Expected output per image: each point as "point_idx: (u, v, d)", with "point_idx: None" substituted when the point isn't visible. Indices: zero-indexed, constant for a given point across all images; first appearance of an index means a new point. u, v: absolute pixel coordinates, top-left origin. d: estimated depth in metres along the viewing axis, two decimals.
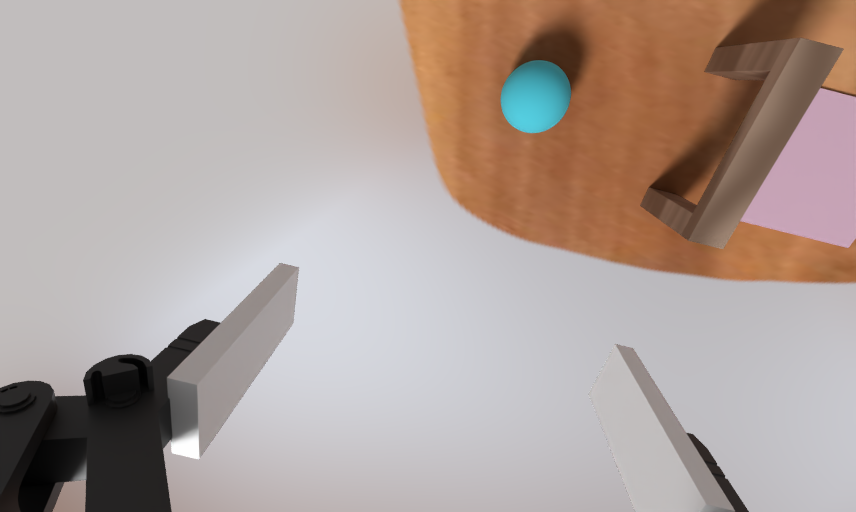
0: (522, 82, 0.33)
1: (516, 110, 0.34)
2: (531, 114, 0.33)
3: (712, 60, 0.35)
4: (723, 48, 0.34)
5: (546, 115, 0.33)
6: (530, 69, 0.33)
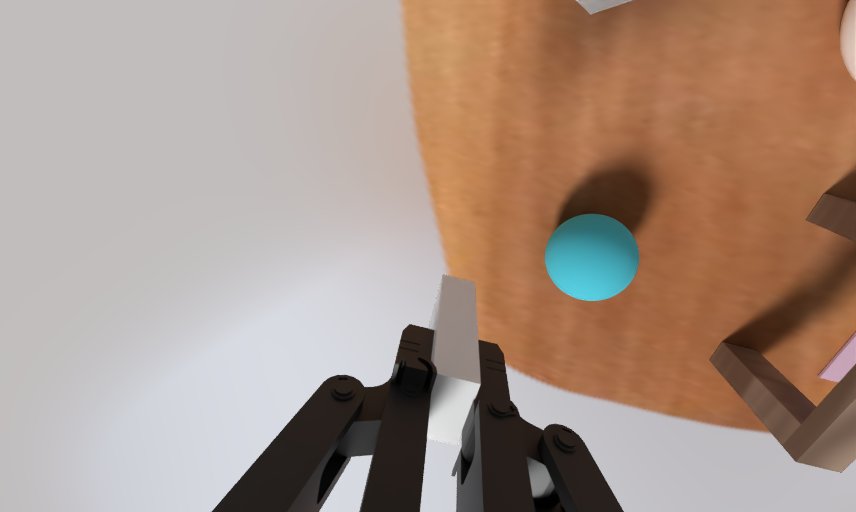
0: (578, 253, 0.25)
1: (568, 283, 0.26)
2: (589, 291, 0.26)
3: (818, 209, 0.27)
4: (838, 200, 0.26)
5: (608, 293, 0.26)
6: (589, 235, 0.25)
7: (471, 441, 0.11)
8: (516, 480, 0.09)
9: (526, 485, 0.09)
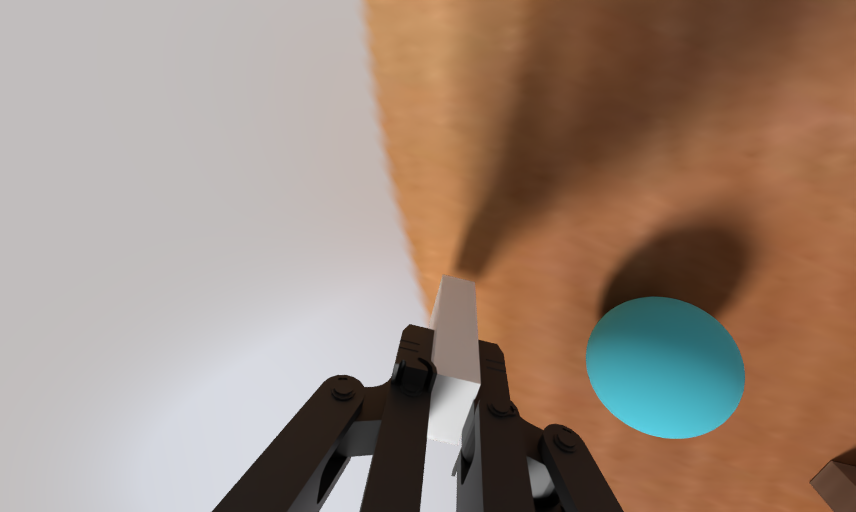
0: (651, 374, 0.15)
1: (630, 415, 0.16)
2: (665, 432, 0.16)
3: None
4: None
5: (697, 435, 0.16)
6: (668, 345, 0.15)
7: (471, 441, 0.11)
8: (516, 480, 0.09)
9: (526, 485, 0.09)
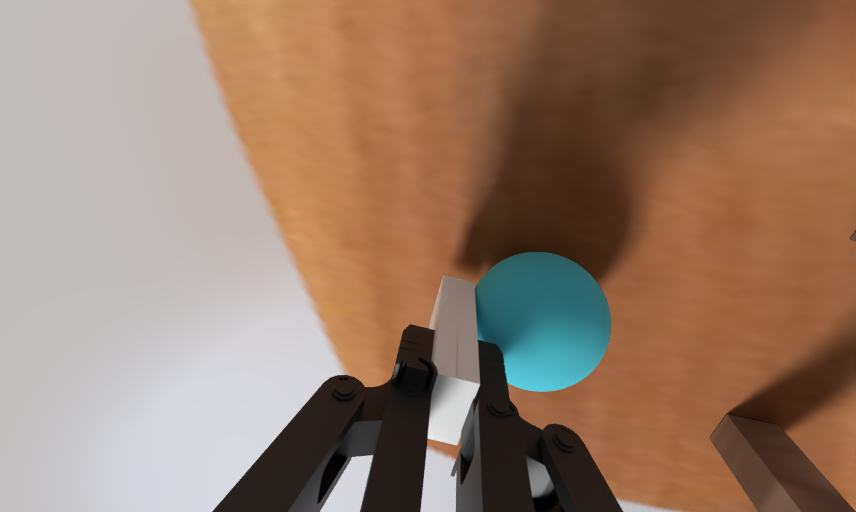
0: (523, 335, 0.15)
1: (512, 377, 0.16)
2: (545, 387, 0.16)
3: None
4: None
5: (574, 383, 0.16)
6: (536, 303, 0.15)
7: (470, 441, 0.11)
8: (515, 480, 0.09)
9: (525, 485, 0.09)
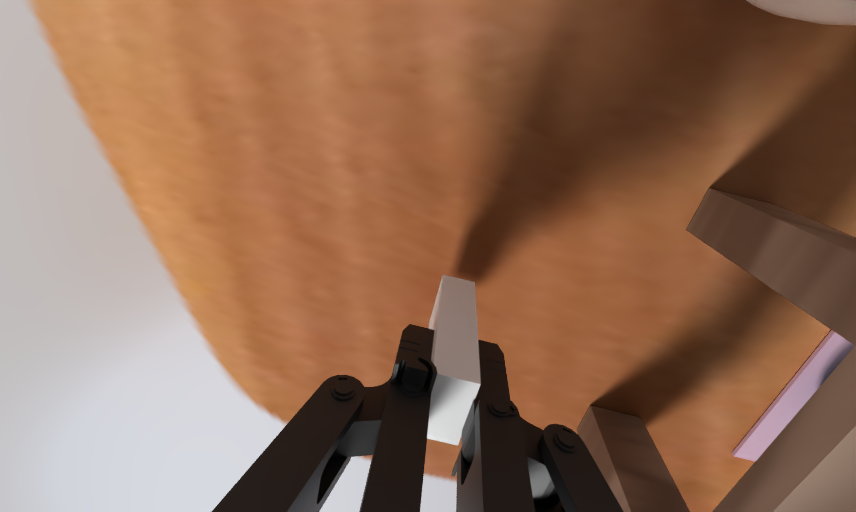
0: None
1: None
2: None
3: (701, 214, 0.17)
4: (724, 199, 0.16)
5: None
6: None
7: (471, 441, 0.11)
8: (516, 480, 0.09)
9: (526, 485, 0.09)
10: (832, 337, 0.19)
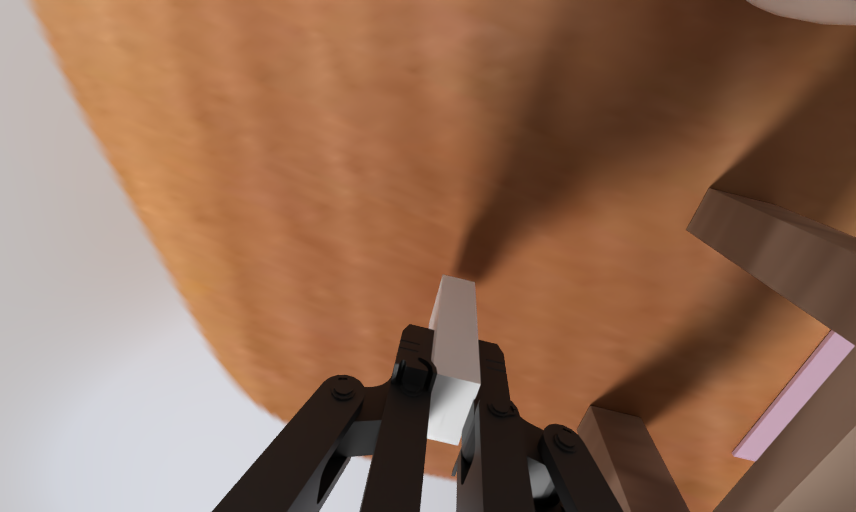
0: None
1: None
2: None
3: (701, 214, 0.17)
4: (724, 199, 0.16)
5: None
6: None
7: (471, 441, 0.11)
8: (516, 480, 0.09)
9: (526, 485, 0.09)
10: (832, 337, 0.19)
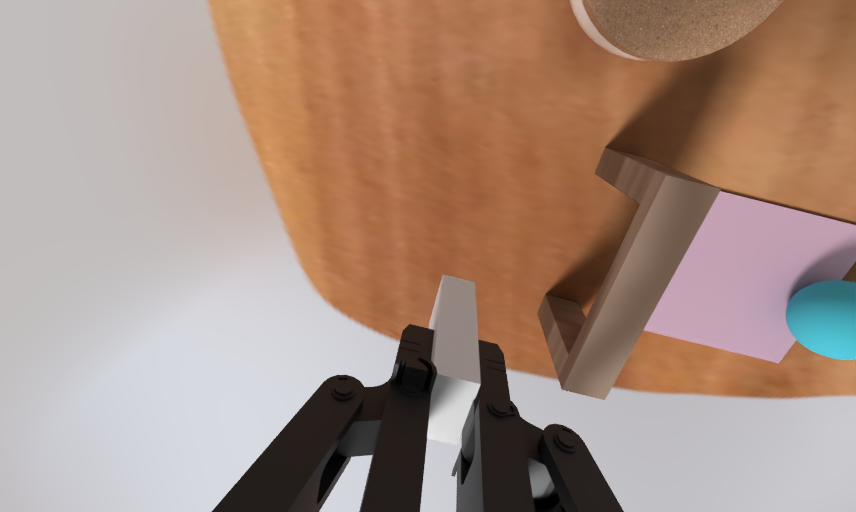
0: (797, 296, 0.31)
1: (787, 322, 0.32)
2: (798, 330, 0.30)
3: (601, 162, 0.30)
4: (610, 152, 0.28)
5: (817, 338, 0.29)
6: (815, 286, 0.30)
7: (471, 441, 0.11)
8: (516, 480, 0.09)
9: (526, 485, 0.09)
10: None
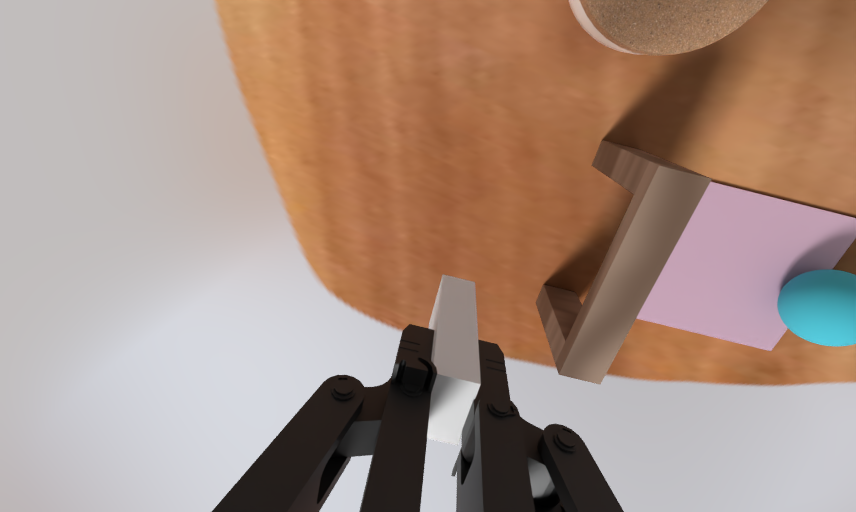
0: (789, 285, 0.32)
1: (779, 310, 0.33)
2: (789, 318, 0.31)
3: (597, 154, 0.30)
4: (606, 144, 0.29)
5: (807, 325, 0.30)
6: (806, 275, 0.31)
7: (471, 441, 0.11)
8: (516, 480, 0.09)
9: (526, 485, 0.09)
10: None
